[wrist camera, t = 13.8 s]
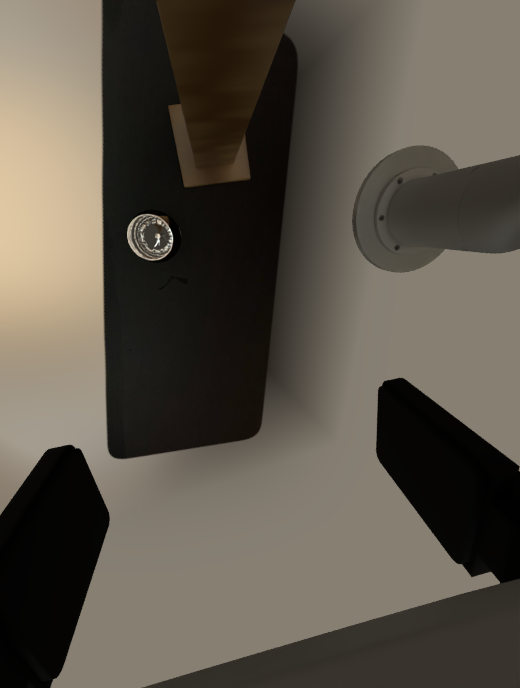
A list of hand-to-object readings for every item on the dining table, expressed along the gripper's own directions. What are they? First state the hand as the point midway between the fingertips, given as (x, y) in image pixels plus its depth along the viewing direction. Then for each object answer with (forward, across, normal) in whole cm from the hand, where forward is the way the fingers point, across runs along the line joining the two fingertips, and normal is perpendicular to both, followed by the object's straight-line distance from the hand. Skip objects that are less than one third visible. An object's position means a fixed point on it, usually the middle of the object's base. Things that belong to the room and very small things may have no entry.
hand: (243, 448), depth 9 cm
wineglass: (+40, +6, -6) cm, 41 cm away
